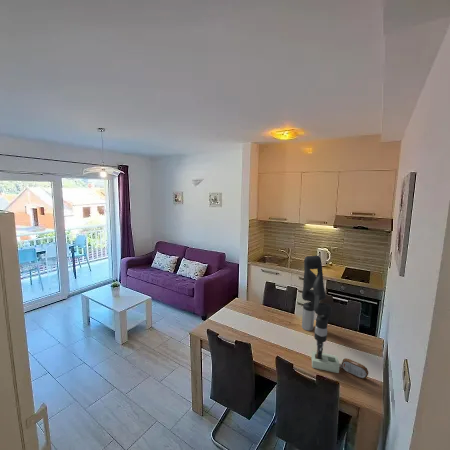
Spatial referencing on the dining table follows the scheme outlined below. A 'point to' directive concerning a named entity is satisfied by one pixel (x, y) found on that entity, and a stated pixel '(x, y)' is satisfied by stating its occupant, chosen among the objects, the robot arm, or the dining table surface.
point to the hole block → (326, 362)
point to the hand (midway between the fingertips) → (318, 355)
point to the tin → (355, 368)
